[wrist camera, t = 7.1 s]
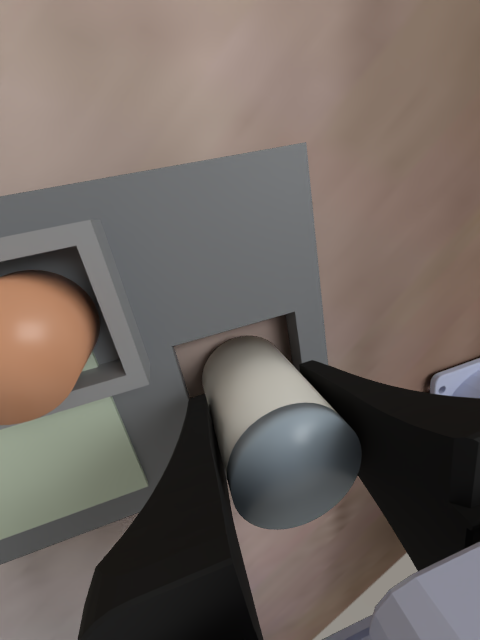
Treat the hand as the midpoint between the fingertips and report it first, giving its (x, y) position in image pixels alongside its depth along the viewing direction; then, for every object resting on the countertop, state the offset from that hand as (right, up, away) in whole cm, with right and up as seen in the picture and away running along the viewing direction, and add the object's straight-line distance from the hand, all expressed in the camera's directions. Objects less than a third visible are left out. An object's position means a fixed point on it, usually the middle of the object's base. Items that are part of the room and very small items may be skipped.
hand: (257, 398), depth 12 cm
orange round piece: (-7, +3, -2) cm, 8 cm away
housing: (-5, +1, +1) cm, 6 cm away
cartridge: (-1, +1, +2) cm, 2 cm away
